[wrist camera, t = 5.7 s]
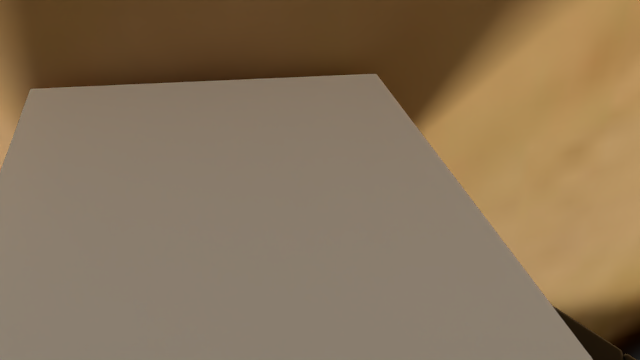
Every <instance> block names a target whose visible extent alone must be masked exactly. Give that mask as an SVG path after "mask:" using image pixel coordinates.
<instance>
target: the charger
mask: <svg viewBox="0 0 640 360" xmlns="http://www.w3.org/2000/svg"><path fill="white" fill-rule="evenodd" d="M0 360H593V359H592V358H591V356H590V355H589V354H588V352H587V351H586V350H585V348H584V347H583V346H582V344H581V343H580V342H579V340H578V339H577V338H576V336H575V335H574V334H573V333H572V331H571V330H570V329H569V327H568V326H567V325H566V323H565V322H564V321H563V319H562V318H561V317H560V315H559V314H558V313H557V311H556V310H555V309H554V307H553V306H552V305H551V304H550V302H549V301H548V300H547V298H546V297H545V296H544V294H543V293H542V292H541V290H540V289H539V288H538V286H537V285H536V284H535V282H534V281H533V280H532V278H531V277H530V276H529V274H528V273H527V272H526V271H525V269H524V268H523V267H522V265H521V264H520V263H519V261H518V260H517V259H516V257H515V256H514V255H513V253H512V252H511V251H510V249H509V248H508V247H507V245H506V244H505V243H504V242H503V240H502V239H501V238H500V236H499V235H498V234H497V232H496V231H495V230H494V228H493V227H492V226H491V224H490V223H489V222H488V220H487V219H486V218H485V216H484V215H483V214H482V212H481V211H480V210H479V209H478V207H477V206H476V205H475V203H474V202H473V201H472V199H471V198H470V197H469V195H468V194H467V193H466V191H465V190H464V189H463V187H462V186H461V185H460V183H459V182H458V181H457V180H456V178H455V177H454V176H453V174H452V173H451V172H450V170H449V169H448V168H447V166H446V165H445V164H444V162H443V161H442V160H441V158H440V157H439V156H438V154H437V153H436V152H435V150H434V149H433V148H432V147H431V145H430V144H429V143H428V141H427V140H426V139H425V137H424V136H423V135H422V133H421V132H420V131H419V129H418V128H417V127H416V125H415V124H414V123H413V121H412V120H411V119H410V118H409V116H408V115H407V114H406V112H405V111H404V110H403V108H402V107H401V106H400V104H399V103H398V102H397V100H396V99H395V98H394V96H393V95H392V94H391V92H390V91H389V90H388V88H387V87H386V86H385V85H384V83H383V82H382V81H381V79H380V78H379V77H378V75H377V74H357V75H334V76H311V77H288V78H265V79H243V80H220V81H197V82H174V83H151V84H128V85H106V86H83V87H60V88H37V89H30V91H29V94H28V97H27V99H26V102H25V105H24V108H23V110H22V113H21V116H20V119H19V121H18V124H17V127H16V130H15V132H14V135H13V138H12V141H11V143H10V146H9V149H8V152H7V154H6V157H5V160H4V163H3V165H2V168H1V171H0Z"/></svg>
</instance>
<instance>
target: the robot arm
mask: <svg viewBox="0 0 640 360" xmlns="http://www.w3.org/2000/svg"><path fill="white" fill-rule="evenodd" d="M553 307H554V306H553ZM554 309H555V310H556V311H557V313H558V314H559V315H560V317H561V318H562V319H563V321H564V322H565V323H566V325H567V326H568V327H569V329H570V330H571V331H572V333H573V334H574V335H575V336H576V338H577V339H578V340H579V342H580V343H581V344H582V346H583V347H584V348H585V350H586V351H587V352H588V354H589V355H590V356H591V358H592V359H593V360H636V359H635V358H633V357H632V356H630V355H628V354H624V355H623V353H622V351H621V350H620V349H619V348H617V347H616V346H614V345H613V344H611V343H610V342H608V341H606V340H605V339H603V338H602V337H600V336H599V335H597V334H596V333H594V332H593V331H591V330H589V329H588V328H586V327H585V326H583V325H582V324H580V323H579V322H577V321H575V320H574V319H572V318H571V317H569V316H568V315H566V314H565V313H563V312H562V311H560V310H558V309H557V308H555V307H554Z"/></svg>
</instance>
